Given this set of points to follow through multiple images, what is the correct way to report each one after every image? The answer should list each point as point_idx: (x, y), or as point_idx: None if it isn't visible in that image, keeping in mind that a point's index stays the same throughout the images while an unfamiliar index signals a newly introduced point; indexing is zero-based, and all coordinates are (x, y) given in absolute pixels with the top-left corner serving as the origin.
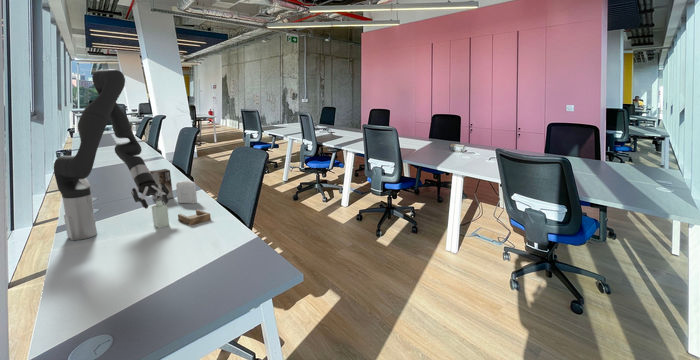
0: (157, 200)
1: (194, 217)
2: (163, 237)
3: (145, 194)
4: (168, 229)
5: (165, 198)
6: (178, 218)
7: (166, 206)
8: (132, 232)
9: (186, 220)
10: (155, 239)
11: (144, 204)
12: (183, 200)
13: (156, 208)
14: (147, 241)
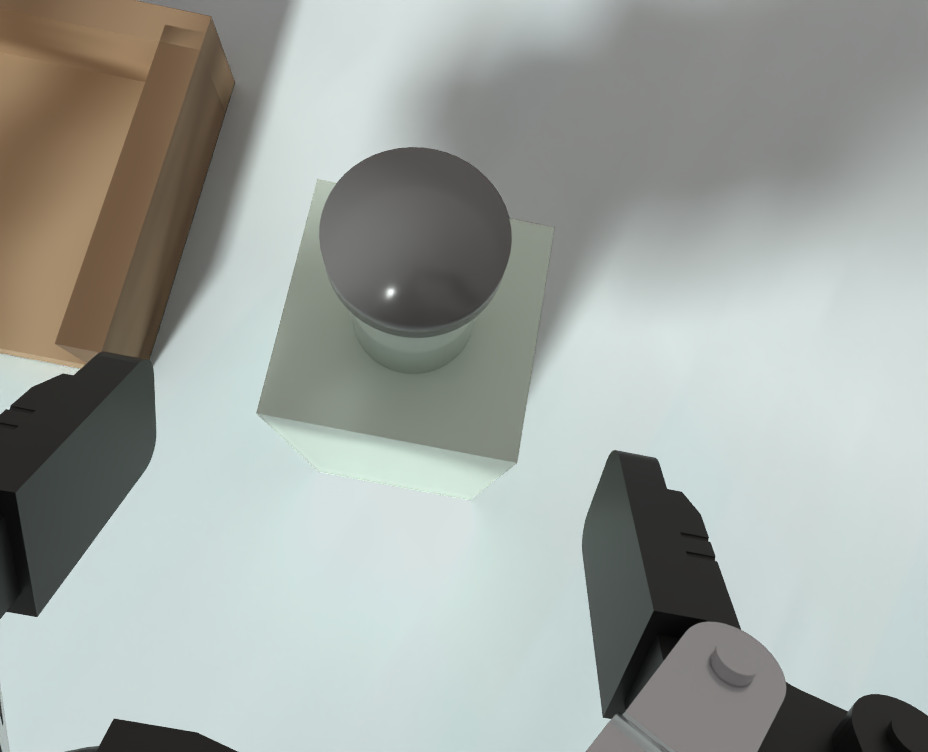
0: (487, 202)
1: (126, 7)
2: (659, 43)
3: (619, 727)
4: None
5: (67, 409)
6: None
7: (331, 189)
8: (777, 507)
9: (195, 131)
10: (739, 67)
11: (684, 521)
12: None
13: (549, 231)
14: (816, 91)
